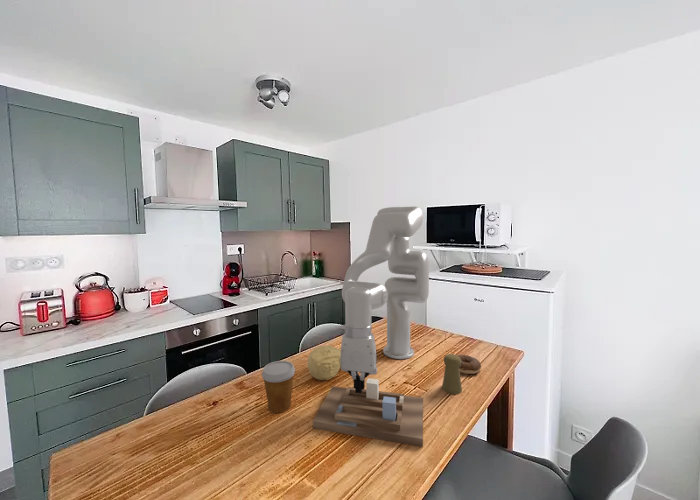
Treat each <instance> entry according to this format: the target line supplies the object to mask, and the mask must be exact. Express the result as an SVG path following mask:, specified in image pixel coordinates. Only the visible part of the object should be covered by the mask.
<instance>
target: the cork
mask: <svg viewBox="0 0 700 500" xmlns="http://www.w3.org/2000/svg"><path fill="white" fill-rule="evenodd" d="M457 355H458V354H453V353H448V354H445V356H444V357H443V364H444V365H445V368H444V374H443V378H442V379H443V380H442V386H441V388H442V390H443V391H444V392H446V393H447V394H451V395H459V394H461V393H462V391H463V388H462V381H461V379H462V378H461V372H460V370H459V367H460V365H461V359H460V358H459V356H457Z"/></svg>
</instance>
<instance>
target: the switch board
mask: <svg viewBox="0 0 700 500" xmlns="http://www.w3.org/2000/svg"><path fill="white" fill-rule="evenodd" d="M326 395H327V396H326V397H325V399H324V401H323V402H322V404H321V406H320V408H319V409H318V411H317V413H316V415H315V417H314V418H313V420H312V428H313V429H315V430H321V431H326V432H327V431H328V432H333V433H338V434H339V433H340V434H345V435H352V436H355V437H363V438H369V439H373V440H381V441H387V442H392V443H393V442H394V443H398V444H404V445H405V444H406V445H409V446H410V445H411V446H414V447H415V446H416V447H422V448H423V447H424V397H420V396H411V395H405V393H399V392H398V393H397V392H390V391H389V392H388V391H384V390H383V391H382V390H379V399H378V400H376V399H369V398H366V388H364V390H362V392H361V394H359V393H355V388H354V387H351V386H350V387H349V386H348V387H342V386H341V387H340V386H336V385H335V386H334V385H333V386H331V388H330V389H329V392H328V393H327V394H326ZM384 396H385V397H393V398H396V421H392V420H385V419H383V406H382V402H383V398H384Z"/></svg>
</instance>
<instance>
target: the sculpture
mask: <svg viewBox="0 0 700 500" xmlns="http://www.w3.org/2000/svg"><path fill="white" fill-rule="evenodd" d="M340 356H341V348H338V347H335V346H332V344H331V345H330V344H329V345H319V346H317V347H315V348H314V349H312V350H311V352H310V353H309V355H308V358H307V369H308V371H309V373H310V375H311V377H313V378H314V379H317V380H318V381H326V380H331V379H333V378H334V377H335V376H336V375H337V374H338V373H339V370H340V369H341V366H340Z"/></svg>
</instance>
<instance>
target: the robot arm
mask: <svg viewBox="0 0 700 500" xmlns="http://www.w3.org/2000/svg"><path fill="white" fill-rule="evenodd" d="M376 214H377V215H375V216H374V218H373V220H372V222H371V223H372V224H371V227H370V231H369V235H368V239H367V244H366V247H365V250H364V252H362V253H361V254H360V255H359V256H358V257H357V258H356V259H354V261H353V262H352V263H351V264H350V266H348V268H347V271H346V273H345V276H344V280H343V283H342V288H341V298H342V301H344V309H345V310H344V311H345V316H344V317H345V319H344V320H345V324H341V325H340V330H343V331H344V333H343V334H342V337H341V343H340V344H341V345H340V350H341V356H340V366H341V367H340V369H341V371H343V372H346V373H347V374H349V375H350V376H351V379H352V380H353V388H355V393H359V394H361V392H362V390H364V389H366V380H365V379H366V378H368V376H369V375H371V376H372V375H377V373H378V367H377V361H378V359H377V357H378V356H377V347H376V340H375V336H374V333H372V310H377V309H379V308H382V307H383V306H384V305H385V304H386V345H385V346H384V347H383V348H382V349H383V350H382V351H383V354H384V356H386V357H388V358H391V359H395V360H396V359H397V360H406V359H409V358H411V357H413V356H414V355H415V350H414V348H413V347H412V346H411V311H410V310H411V309H410V307H409V306H408V304H407V303H418V304H422V303H423V304H424V303H425V302H427V300H428V298H429V291H430V290H429V289H430V288H429V286H430V281H429V280H430V279H429V277H430V274H429V273H430V272H429V267H430V264H429V263H430V262H429V258H428V255H427V253H425V252H424V251H420V250H410V238H411V237H412V236H414V235H415V234H416V233H417V231H418V230H420V229H421V227H422V225H423V222H424V215H423V211H422V209H421V208H420V206H391V207H383V208H381V209H379V210H378V211H377V213H376ZM386 262H387V267H388V271H389V272H390V273H392V274H396V275H404V276H405V275H406V276H407V275H408V276H409V275H410V276H415V277H406V276H405V277H404V276H401V277H400V276H392V277H389V278H387V279H386V280H385V283H384V284H382V283H377V282H367V281H358V280H359V278H360V276H361V275H362V274H363V273H364V272H366V271H367V270H369V269H370V268H373V267H376V266H378V265H380V264H384V263H386ZM359 373H360V374H359Z"/></svg>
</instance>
